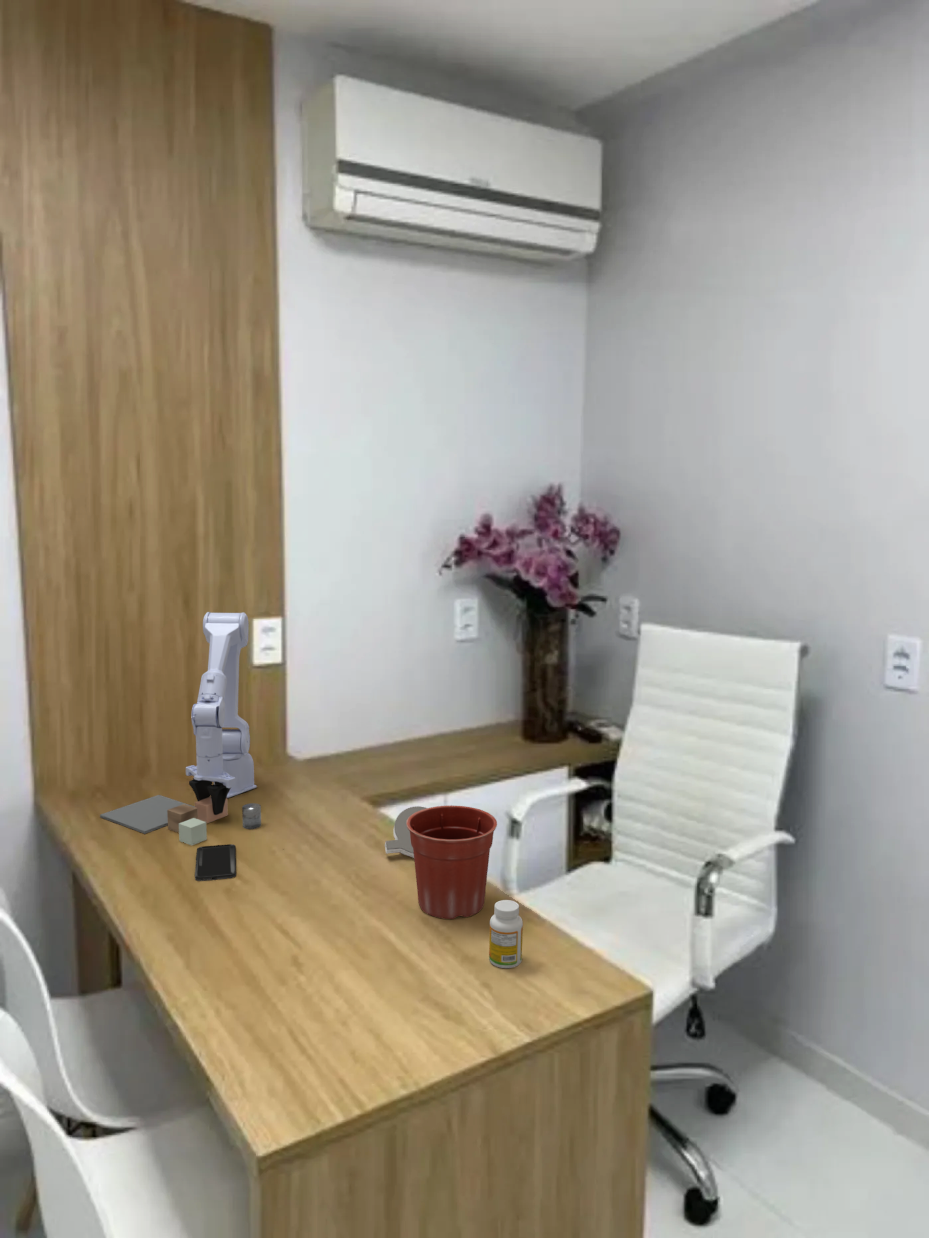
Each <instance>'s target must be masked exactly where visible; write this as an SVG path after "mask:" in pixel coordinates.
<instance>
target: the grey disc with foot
mask: <svg viewBox="0 0 929 1238" xmlns="http://www.w3.org/2000/svg"><path fill="white" fill-rule="evenodd" d="M427 808H428V807H426V806H425V807H424V806H419V805H418V806H410V807H408V808H405V809H403V810H402V811H401V812H400V813H399V814H398V815H397V817H396V819H395V821H394V825H393V830H392V831H393V838H394V839H391V840H385V843H384V849H385V854H387V855H388V854H394V853H395V854H396V853H400V854H402V855H404V856H407V857H411V858H412V859H413V858H414V852H413V847H412V845H411V838H410V831H409V830H408V828H407V824H406V822H407V819H408V818H409V817H410V816H411V815H412V814H414V813H415V812H418V811H420V810H423V809H427Z"/></svg>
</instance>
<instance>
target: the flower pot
mask: <svg viewBox="0 0 929 1238" xmlns="http://www.w3.org/2000/svg"><path fill="white" fill-rule="evenodd" d="M426 808H427V809H423V810H420V811H418V812H415V813H414V814H412V815H411V816H410V817H409V818H408V819H407V822H406V824H407V828H408V830H409V831H410V838H411V845H412V847H413V852H414V859H413V860H414V870H415V879H416V888H417V889H416V891H417V903H418V905H419V907H420V908H421V910H422V911H423V912H424V913H425V914H427V915H429V916H430V917H434V918H437V919H438V918H439V919H445V920H454V919H456V918H458V917H462V918H463V917H464V918H468V917H472V916H474V915H476V914H477V913H479V912H480V911H481V910H482V909H483V908H484V906H485V900H486V899H485V898H486V891H487V890H486V889H487V879H488V871H489V869H488V868H489V861H490V853H491V848H492V846H493V839H494V832H495V831H496V829H497V827H498V821H497V818H495V816H493V815H492V814H491V813H490V812H487V811H485V810H483V809H479V808H476V807H472V806H465V805H464V806H463V805H452V804H451V805H438V806H432V807H426Z"/></svg>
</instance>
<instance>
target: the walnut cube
mask: <svg viewBox="0 0 929 1238" xmlns="http://www.w3.org/2000/svg"><path fill="white" fill-rule="evenodd" d="M185 804H186V803H185ZM185 804H183V805H180V806H177V807H174V808H171V809H169V810H167V816H168V825H167V829H168V830H170V831H173V832H175V833H177V832H178V834H179V823H182V822H184V821H187V820H190V819H192V818H196V819H198V813H197V808H195V806H194V807H191V806H192V805H191V806H188V805H189V804H188V805H185Z"/></svg>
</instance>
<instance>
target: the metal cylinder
mask: <svg viewBox="0 0 929 1238" xmlns="http://www.w3.org/2000/svg"><path fill="white" fill-rule="evenodd" d="M241 808H242V809H241V810H242V811H241V812H242V815H241V816H242V828H243V829H246V830H257V829H259V828H261V826H262V807H261V804H260V803H255V802H253V803H246V804H244V805H242V807H241Z"/></svg>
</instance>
